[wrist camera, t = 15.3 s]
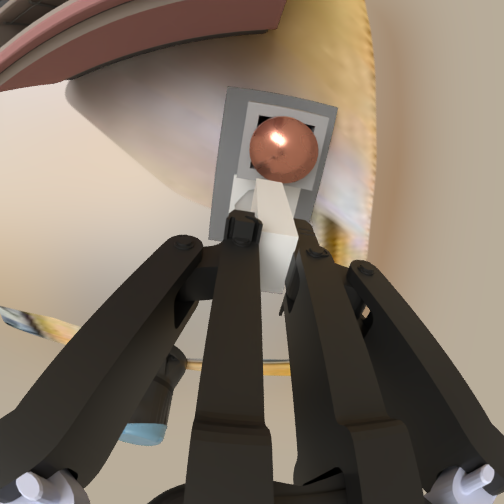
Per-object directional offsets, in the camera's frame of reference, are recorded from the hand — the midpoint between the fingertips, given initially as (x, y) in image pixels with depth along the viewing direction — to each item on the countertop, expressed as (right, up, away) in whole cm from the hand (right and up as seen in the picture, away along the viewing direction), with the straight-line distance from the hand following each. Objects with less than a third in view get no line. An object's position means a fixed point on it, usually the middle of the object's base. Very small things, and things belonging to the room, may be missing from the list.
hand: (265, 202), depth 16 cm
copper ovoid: (+2, +11, +15) cm, 19 cm away
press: (+1, +8, +21) cm, 23 cm away
